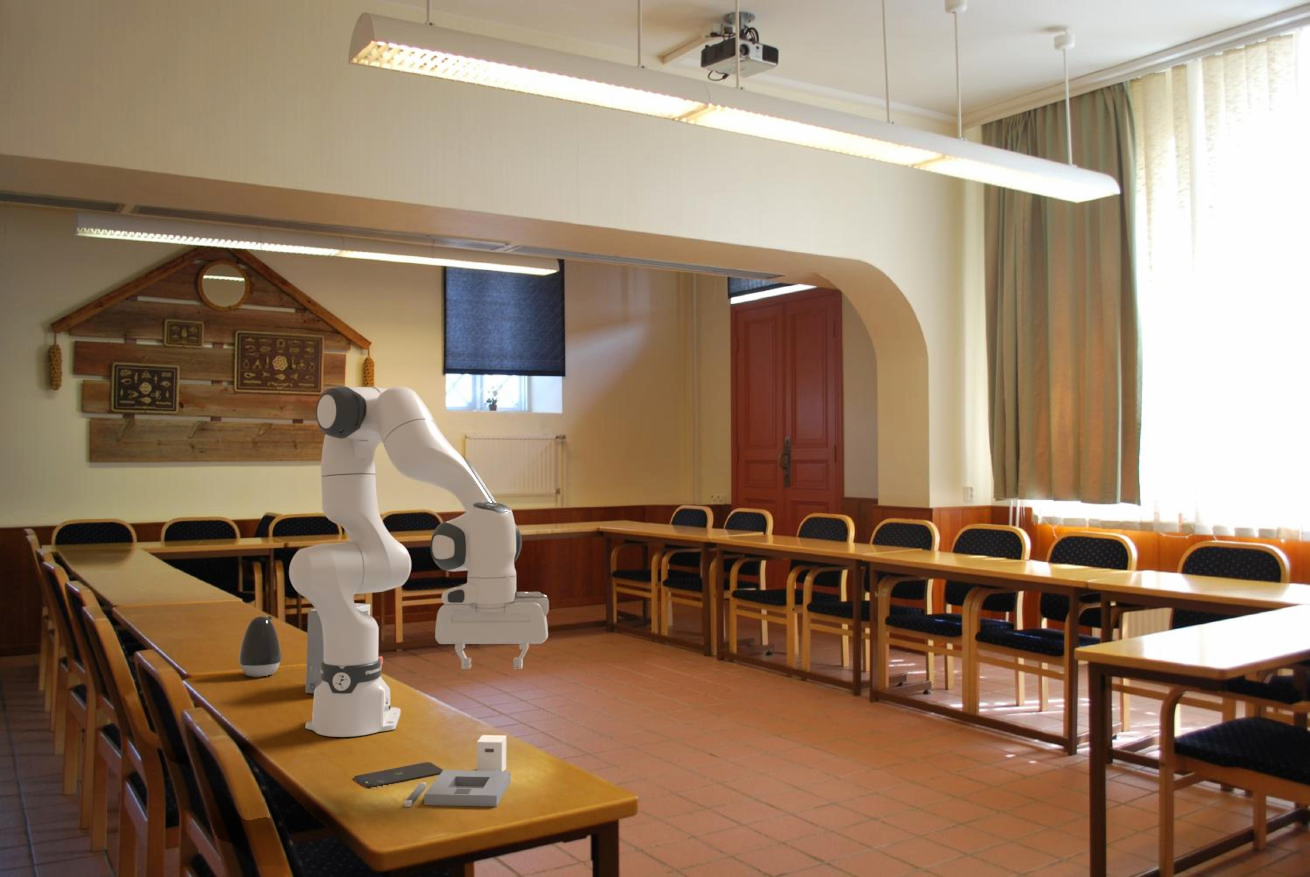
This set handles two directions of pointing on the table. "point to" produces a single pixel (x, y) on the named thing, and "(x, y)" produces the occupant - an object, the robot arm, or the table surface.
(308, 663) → the hard drive box
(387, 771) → the smartphone
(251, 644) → the grey egg on base
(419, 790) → the bar
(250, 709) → the table surface
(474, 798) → the plate
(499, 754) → the brick
